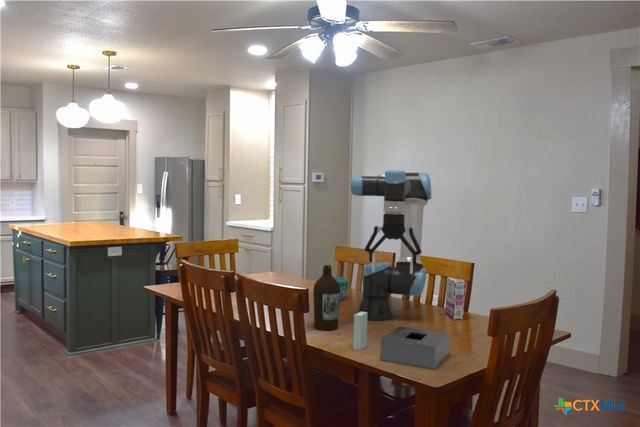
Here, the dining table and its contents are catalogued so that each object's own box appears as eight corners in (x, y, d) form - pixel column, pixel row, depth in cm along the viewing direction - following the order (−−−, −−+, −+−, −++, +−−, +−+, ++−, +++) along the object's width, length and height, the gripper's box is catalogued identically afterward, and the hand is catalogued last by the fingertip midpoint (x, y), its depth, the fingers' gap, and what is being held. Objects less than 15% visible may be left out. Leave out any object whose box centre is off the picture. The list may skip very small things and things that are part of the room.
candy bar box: (464, 320, 232) (465, 282, 231) (453, 320, 232) (454, 282, 231) (455, 313, 243) (457, 277, 242) (444, 313, 243) (446, 277, 242)
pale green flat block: (353, 349, 188) (354, 314, 187) (360, 344, 193) (360, 311, 193) (360, 350, 187) (360, 315, 186) (366, 345, 192) (367, 312, 191)
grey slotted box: (380, 359, 177) (380, 338, 177) (398, 345, 193) (399, 326, 193) (434, 369, 169) (435, 347, 168) (448, 353, 185) (449, 333, 184)
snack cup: (340, 295, 279) (341, 275, 278) (355, 298, 271) (356, 278, 271) (318, 299, 268) (319, 278, 267) (334, 303, 260) (334, 282, 260)
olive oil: (308, 325, 218) (309, 263, 216) (332, 323, 222) (333, 262, 221) (319, 332, 208) (320, 267, 207) (344, 329, 213) (345, 266, 211)
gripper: (357, 212, 193) (356, 271, 194) (429, 214, 187) (426, 275, 188) (361, 211, 201) (359, 268, 201) (430, 214, 194) (428, 272, 195)
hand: (392, 272), depth 195 cm, fingers open, 13 cm apart
